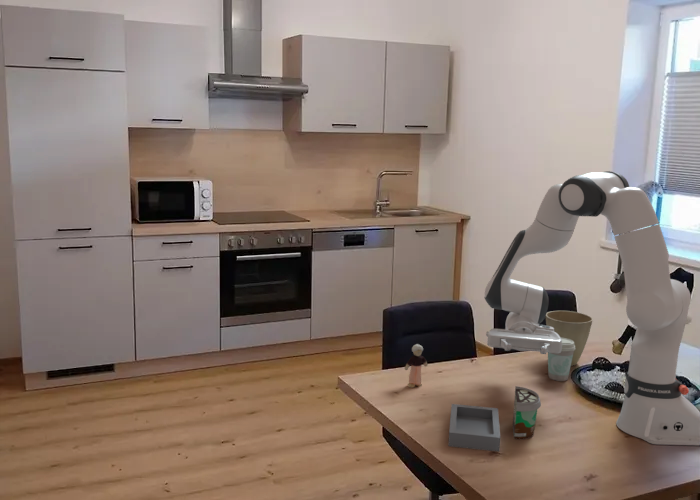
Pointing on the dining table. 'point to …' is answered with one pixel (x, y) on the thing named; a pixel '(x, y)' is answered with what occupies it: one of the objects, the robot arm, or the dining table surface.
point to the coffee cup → (561, 361)
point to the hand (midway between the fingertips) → (525, 349)
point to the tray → (474, 427)
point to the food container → (525, 412)
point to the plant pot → (571, 329)
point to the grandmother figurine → (415, 366)
